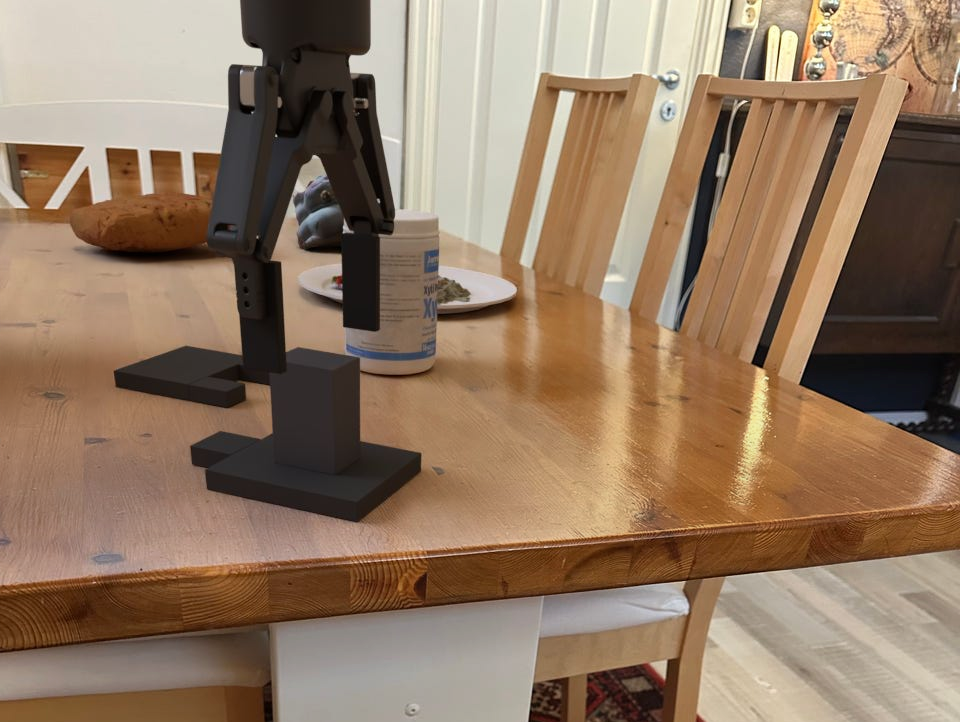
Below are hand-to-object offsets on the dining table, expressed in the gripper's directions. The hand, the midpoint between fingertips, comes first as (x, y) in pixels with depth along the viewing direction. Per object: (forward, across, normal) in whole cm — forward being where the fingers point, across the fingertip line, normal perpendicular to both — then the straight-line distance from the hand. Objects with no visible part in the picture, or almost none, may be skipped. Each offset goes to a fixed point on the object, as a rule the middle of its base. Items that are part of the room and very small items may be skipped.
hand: (317, 348), depth 64 cm
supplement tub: (+10, +32, +9) cm, 35 cm away
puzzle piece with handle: (+10, 0, +2) cm, 10 cm away
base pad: (+10, +16, +21) cm, 29 cm away
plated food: (+10, +66, +22) cm, 70 cm away
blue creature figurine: (+9, +95, +49) cm, 107 cm away
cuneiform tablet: (+9, +71, +67) cm, 98 cm away
